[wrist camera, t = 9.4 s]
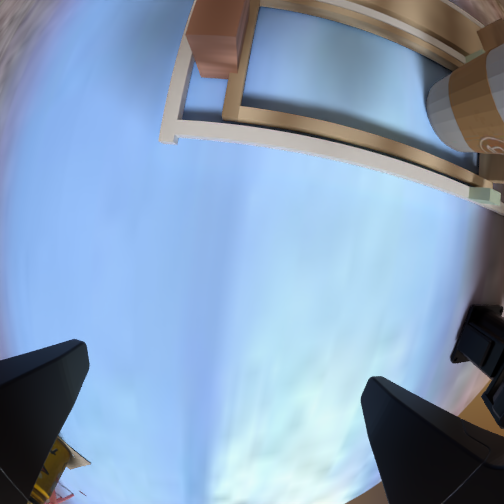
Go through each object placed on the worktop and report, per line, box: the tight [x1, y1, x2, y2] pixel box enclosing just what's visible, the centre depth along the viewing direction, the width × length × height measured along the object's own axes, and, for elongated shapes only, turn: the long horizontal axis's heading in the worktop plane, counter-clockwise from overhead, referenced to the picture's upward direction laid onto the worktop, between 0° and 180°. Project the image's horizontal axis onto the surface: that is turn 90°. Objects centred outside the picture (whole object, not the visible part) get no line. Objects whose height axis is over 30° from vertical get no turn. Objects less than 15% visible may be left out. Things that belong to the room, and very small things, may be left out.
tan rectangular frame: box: [185, 0, 504, 189], centre depth 13 cm, size 25×11×6 cm, turn 82°
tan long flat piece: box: [346, 0, 484, 57], centre depth 14 cm, size 25×6×1 cm, turn 82°
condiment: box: [27, 436, 91, 504], centre depth 18 cm, size 7×8×12 cm
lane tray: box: [159, 0, 504, 216], centre depth 14 cm, size 37×23×4 cm, turn 82°
